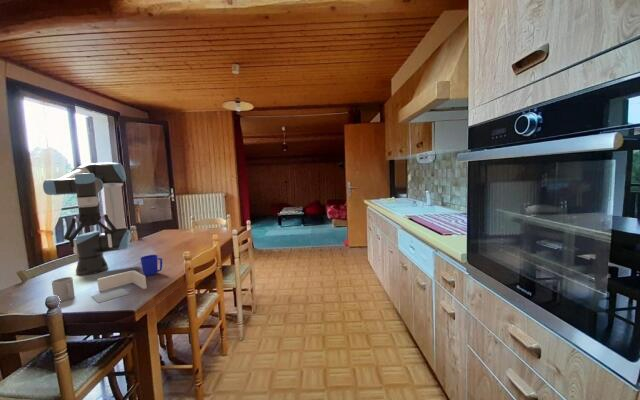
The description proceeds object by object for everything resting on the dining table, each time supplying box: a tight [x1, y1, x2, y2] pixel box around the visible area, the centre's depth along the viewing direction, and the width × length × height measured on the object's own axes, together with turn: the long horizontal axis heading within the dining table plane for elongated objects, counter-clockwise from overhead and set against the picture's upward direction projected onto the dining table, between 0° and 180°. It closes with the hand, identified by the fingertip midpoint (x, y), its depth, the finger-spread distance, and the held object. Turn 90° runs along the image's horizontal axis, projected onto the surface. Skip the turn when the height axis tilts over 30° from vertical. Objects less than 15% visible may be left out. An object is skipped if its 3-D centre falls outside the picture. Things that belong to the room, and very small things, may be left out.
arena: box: [96, 269, 147, 292], centre depth 144 cm, size 17×16×6 cm
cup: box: [51, 276, 75, 302], centre depth 135 cm, size 7×10×9 cm
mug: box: [140, 254, 163, 277], centre depth 165 cm, size 8×12×10 cm
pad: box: [91, 287, 130, 304], centre depth 137 cm, size 12×12×1 cm
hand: (93, 250), depth 140 cm, fingers open, 13 cm apart
